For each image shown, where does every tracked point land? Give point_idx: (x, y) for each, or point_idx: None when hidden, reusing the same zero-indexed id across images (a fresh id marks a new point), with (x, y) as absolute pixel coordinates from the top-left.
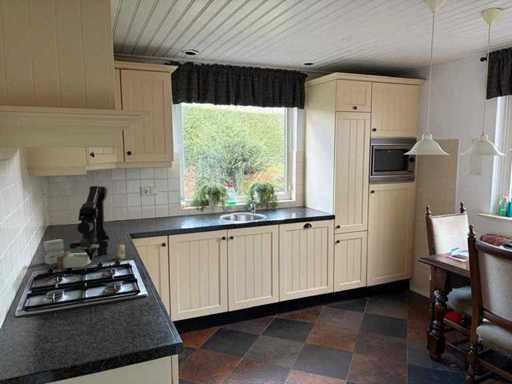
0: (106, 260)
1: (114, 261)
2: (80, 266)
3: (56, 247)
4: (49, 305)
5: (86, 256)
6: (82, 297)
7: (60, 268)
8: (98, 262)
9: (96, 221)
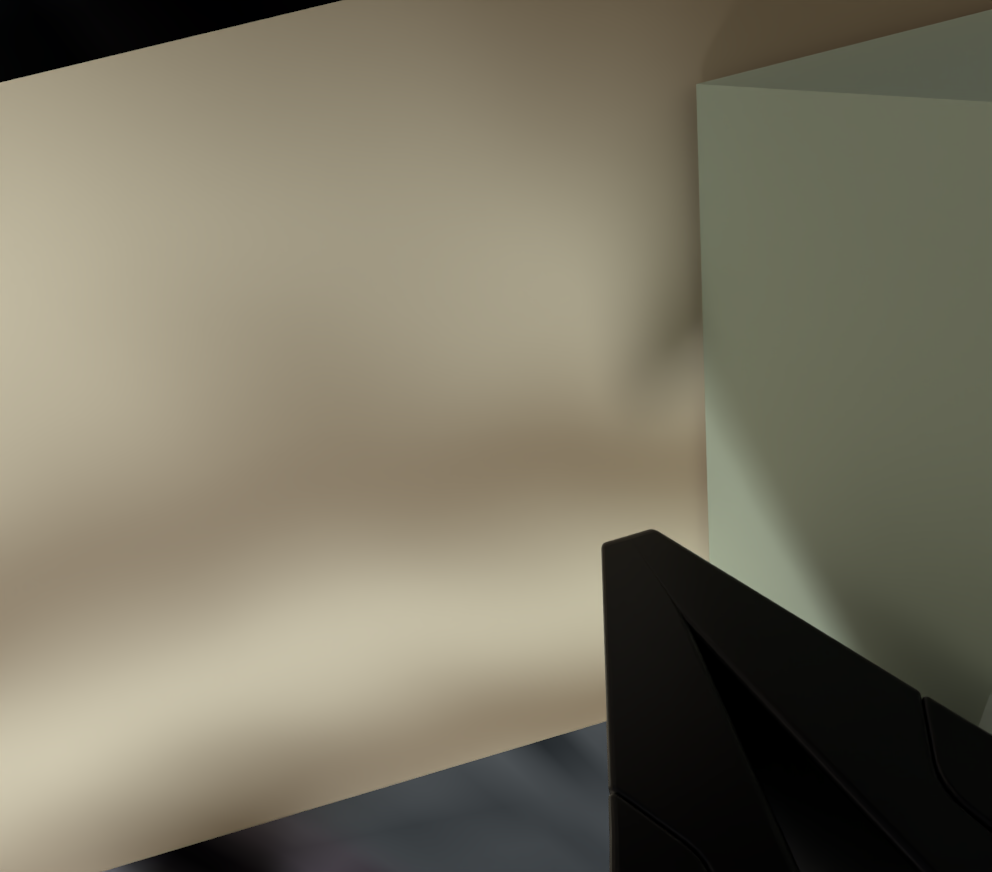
0: (503, 843)
1: (274, 844)
2: (862, 46)
3: None
4: None
5: (939, 606)
6: None
7: None
8: (591, 732)
9: None
